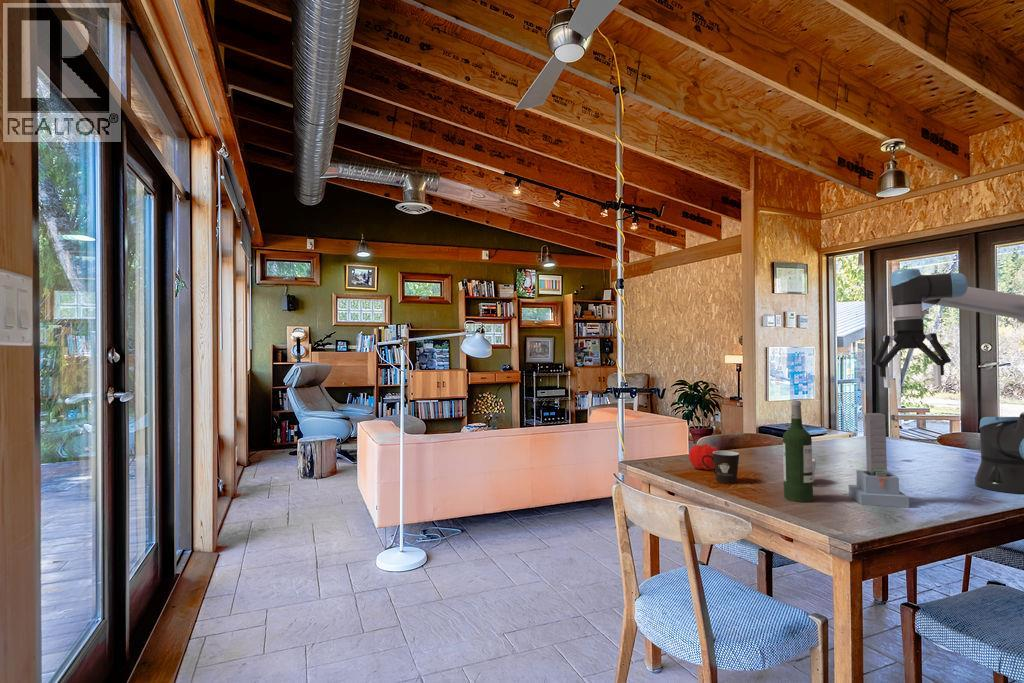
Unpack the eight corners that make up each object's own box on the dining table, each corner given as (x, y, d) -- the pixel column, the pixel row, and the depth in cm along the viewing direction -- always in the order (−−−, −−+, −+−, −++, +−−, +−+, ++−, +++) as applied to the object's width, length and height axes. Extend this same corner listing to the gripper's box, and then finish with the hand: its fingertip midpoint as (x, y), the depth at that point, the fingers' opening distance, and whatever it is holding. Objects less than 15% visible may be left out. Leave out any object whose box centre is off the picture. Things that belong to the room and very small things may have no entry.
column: (882, 479, 162) (880, 413, 163) (888, 482, 158) (886, 415, 158) (867, 478, 163) (865, 413, 164) (872, 482, 159) (870, 414, 159)
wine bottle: (815, 503, 159) (812, 402, 159) (785, 501, 161) (783, 401, 162) (810, 496, 166) (808, 399, 167) (782, 494, 169) (780, 399, 170)
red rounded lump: (718, 473, 200) (717, 448, 200) (685, 469, 207) (685, 446, 207) (724, 467, 209) (723, 444, 209) (692, 464, 216) (692, 442, 216)
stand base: (893, 496, 165) (892, 466, 165) (909, 507, 153) (908, 475, 154) (848, 494, 168) (847, 464, 168) (861, 504, 157) (860, 473, 157)
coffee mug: (745, 482, 185) (744, 453, 185) (730, 486, 180) (729, 456, 181) (715, 476, 195) (715, 448, 195) (700, 479, 190) (700, 451, 190)
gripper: (948, 317, 168) (953, 384, 167) (858, 322, 174) (862, 387, 174) (961, 315, 160) (966, 386, 160) (866, 320, 167) (871, 388, 166)
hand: (912, 387), depth 167 cm, fingers open, 13 cm apart
